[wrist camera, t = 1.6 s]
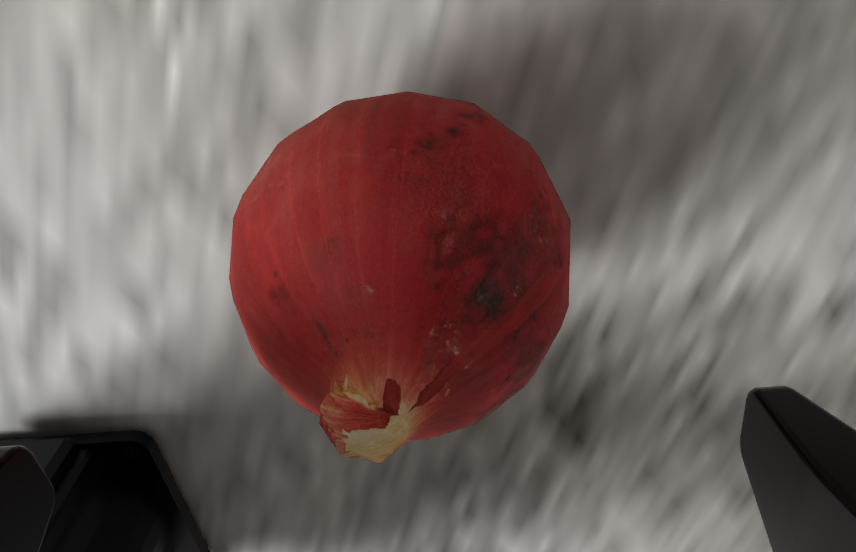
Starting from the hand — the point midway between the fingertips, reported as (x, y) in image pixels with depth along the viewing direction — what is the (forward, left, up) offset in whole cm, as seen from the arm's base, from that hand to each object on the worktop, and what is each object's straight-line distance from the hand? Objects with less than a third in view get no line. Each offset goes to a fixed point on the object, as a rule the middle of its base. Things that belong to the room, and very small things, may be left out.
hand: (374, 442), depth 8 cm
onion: (0, 0, -8) cm, 8 cm away
